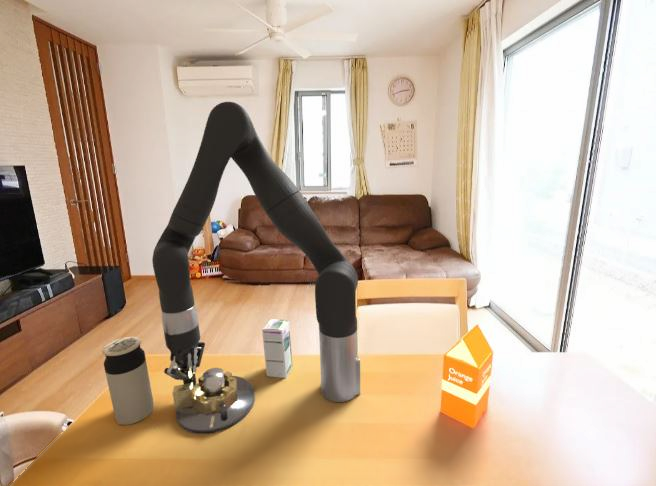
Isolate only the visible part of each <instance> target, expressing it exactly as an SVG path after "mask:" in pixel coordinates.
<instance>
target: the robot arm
mask: <svg viewBox="0 0 656 486" xmlns="http://www.w3.org/2000/svg"><path fill="white" fill-rule="evenodd" d="M231 159H232V161H233V162H234V163H235V164H236V166H238V167H239V169H240V170H241V171H242V173H243V174H244V176H245V178H246V179H247V181H248V183H249V184H250V187H251V189H252V191H253V193H254V195H255V197H256V199H257V201H258V203H259V204H260V206H261V207H262V209H263V211H264V213H265V214H266V215H267V216H268V218H269V220H270V221H271V223H272V224H273V225H274V227H275V228H276V229H277V231H278V232H279V233H280V234H281V235H282V236H283V237H285V239H287V240H288V241H289V242H290V243H292V244H293V245H294V246H296V247H297V248H298V249H299V250H301V251H302V252H303V254H305V256H307V258H308V260H309V262H310V263H311V264H312V266H313V267H314V270H315V271H316V273H317V275H318V276H317V278H316V280H315V285H314V301H315V313H316V321H317V323H318V335H319V361H320V389H321V394H322V396H323V397H324V398H325V399H326V400H329V401H330V402H333V403H334V402H335V403H343V402H344V403H345V402H348V401H350V400H353V399H354V398H355V397H356V396H358V395H361V360H360V358H359V356H358V318H357V315H356V314H357V309H356V307H357V305H356V299H357V298H356V297H357V296H356V295H357V292H356V291H357V288H358V284H359V275H358V274H357V271H356V269H355V267H354V266H353V265H352V263H351V262H350V261H349V259H348V258H347V257H346V256H345V255H344V254H343V253H342V252H341V250H339V248H338V247H337V246H336V244H335V243H334V242H333V240H332V239H331V238H330V236H329V235H328V233H327V231H326V229H324V226H323V225H322V223H321V222H320V221H319V219H318V217H317V215H316V213H314V210H312V208H311V207H310V205H309V202H308V201H307V200H306V199H305V197H304V196H303V195H302V193H301V191H300V190H299V188H298V187H297V186H296V185H295V184H294V182H293V180H291V178H290V177H289V176H288V174H286V173H285V172H284V171H283V170H282V169H281V168H280V167H279V166H278V164H277V163H276V162H275V161H274V160H273V159H272V157H271V156H270V154H269V153H268V152H267V149H266V147H265V146H264V144H263V142H262V141H261V139H260V137H259V134H258V133H257V131H256V128H255V127H254V124H253V122H252V120H251V117H250V115H249V113H248V112H247V110H246V109H245V108H244V107H243V106H241V105H240V104H239V103H236V102H233V101H223V102H222V101H221V102H220V103H218V104H216V105H215V106H214V107H213V108H212V109H211V110H210V112H209V114H208V116H207V120H206V124H205V127H204V130H203V135H202V138H201V142H200V145H199V149H198V151H197V155H196V158H195V161H194V164H193V166H192V169H191V172H190V174H189V176H188V178H187V181H186V184H184V185H185V186H183V189H182V192H181V194H180V196H179V198H178V200H177V202H176V204H175V206H174V208H173V210H172V213H171V215H170V218H169V221H168V223H167V225H166V227H165V228H164V230H163V231H162V233H161V235H160V237H159V239H158V241H157V242H156V245H155V247H154V249H153V253H152V267H153V272H154V273H153V274H154V276H155V277H154V278H155V280H156V284H157V287H158V295H159V296H158V297H159V303H160V308H161V309H160V310H161V323H162V329H163V335H164V342H165V347H166V348H167V349H168V350H169V352H170V356H169V357H170V358H169V360H170V364H169V366H168V367H166V368H165V369H164V371H163V372H164V374H165V375H167V376H169V377H171V378H172V379H174V380H176V381H177V380H179V381H182V382H183V384H189V383H193V384H194V385H196V384H197V377H196V373H197V368H199V367H200V366H201V362H202V359H203V354H204V350H205V346H206V343H205V341H204V342H203V341H201V332H200V326H199V325H200V324H199V318H198V312H197V308H196V305H195V298H194V292H193V287H192V284H191V273H190V260H189V252H190V250H191V247H192V246H193V243H194V242H195V239H196V237H198V236H199V235H200V234H201V232H202V230H203V229H204V226H205V225H206V223H207V220H208V219H209V216H210V214H211V212H212V209H213V208H214V204H215V201H216V198H217V196H218V191H219V187H220V184H221V180H222V177H223V174H224V172H225V170H226V167H227V165H228V163H229V161H230V160H231Z"/></svg>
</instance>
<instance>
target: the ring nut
mask: <svg viewBox="0 0 656 486" xmlns="http://www.w3.org/2000/svg"><path fill="white" fill-rule="evenodd" d="M223 374H224V382H225V388H224V389H222V392H223V394H221V395H220V396H215V397H210V398H207V397H205V389H204V382H203V375H201V376H200V377H199V378H198V379H197V381H198V382H196V385H194V384H193V383H189V384H184V383H183V384H177V385H174V387H173V389H172V398H173V403H174V404H173V405H174V410H176V409H180V408H185V407H190V406H193V409H195V410H197V411H199V412H201V413H203V414H204V415H207V414H212V413H217V412H220V404H222V403H226V407H227V408H229V407H230V406H231V405H232V404H233V403H234V402H236V401H237V400H238V388H237V379H236V378H234V377H232V376H233V374H232V372H231V371H228V370H227V371H226V372H224V373H223Z"/></svg>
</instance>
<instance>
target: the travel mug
mask: <svg viewBox="0 0 656 486" xmlns="http://www.w3.org/2000/svg"><path fill="white" fill-rule="evenodd" d="M141 344H142V339H141V338H140V337H138V336H126V337H120V338H118V339H115V340H113V341H110V342H109V343H107V344H106V345H104V347H103V348H102V351H101V353H102V354H103V355H104V357H105V358H104V362H103V367H104V368H103V369H104V372H105V376H106V382H107V386H108V391H109V395H110V400H111V404H112V405H111V406H112V408H113V413H114V418H115V421H116V423H117V424H119V425H126V426H127V425H132V424H136V423H138V422H141V421H142V420H145V418H147V417H148V416H149V415H150V414H151V413H152V412H153V411H154V408H155V402H154V397H153V392H152V386H151V381H150V375H149V370H148V365H147V364H148V363H147V360H146V353H145V350H144V349H143V348H142V347H141Z"/></svg>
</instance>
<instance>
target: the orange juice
mask: <svg viewBox="0 0 656 486" xmlns="http://www.w3.org/2000/svg"><path fill="white" fill-rule="evenodd" d="M493 358H494V350H493V349H492V347H491V346H490V344H489V342H488V340H487V339H486V336H485V335H484V332H482V329H481V328H480V326H479V324H478V323H477V324H476V325H475V326H473V327H472V328H471V329H470V330H469V331H468V332H466V333H465V334H464V335H463V336H462V337H461V338H460V339H458V341H456V343H454V345H452V347H451V348H450V349H449V350H448V351H447V352H446V353H445V354H444V355H443V364H442V379H441V397H440V413H442V414H444V415H446V416H448V417H450V418H452V419H454V420H456V421H458V422H460V423H463V424H464V425H466V426H468V427H469V428H471V429H474V428H475V427H476V426H477V424H478V422H479V420H480V419H481V418H482V416H483V415H484V412H485V411H487V408H488V405H489V395H490V387H491V386H490V385H491V378H492V368H493V367H492V366H493Z"/></svg>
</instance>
